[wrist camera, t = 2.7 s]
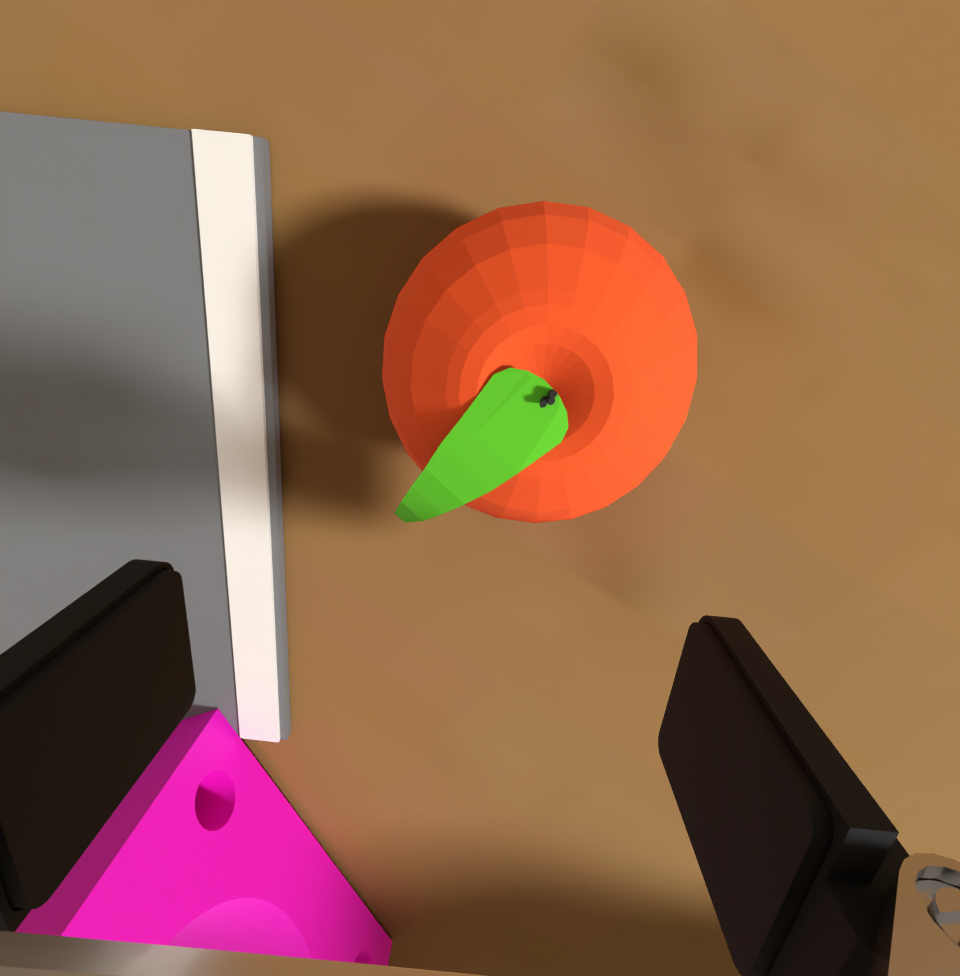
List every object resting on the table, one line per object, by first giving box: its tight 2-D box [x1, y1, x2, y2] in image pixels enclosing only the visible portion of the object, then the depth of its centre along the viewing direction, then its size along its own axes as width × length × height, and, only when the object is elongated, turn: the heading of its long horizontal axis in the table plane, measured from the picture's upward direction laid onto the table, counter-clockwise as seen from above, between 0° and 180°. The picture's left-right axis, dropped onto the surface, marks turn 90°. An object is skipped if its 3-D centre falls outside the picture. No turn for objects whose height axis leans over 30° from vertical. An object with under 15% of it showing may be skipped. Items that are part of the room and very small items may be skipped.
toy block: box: [15, 709, 392, 966], centre depth 19 cm, size 15×6×8 cm, turn 23°
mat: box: [0, 112, 291, 742], centre depth 17 cm, size 15×20×1 cm
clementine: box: [382, 201, 697, 523], centre depth 12 cm, size 8×7×7 cm
